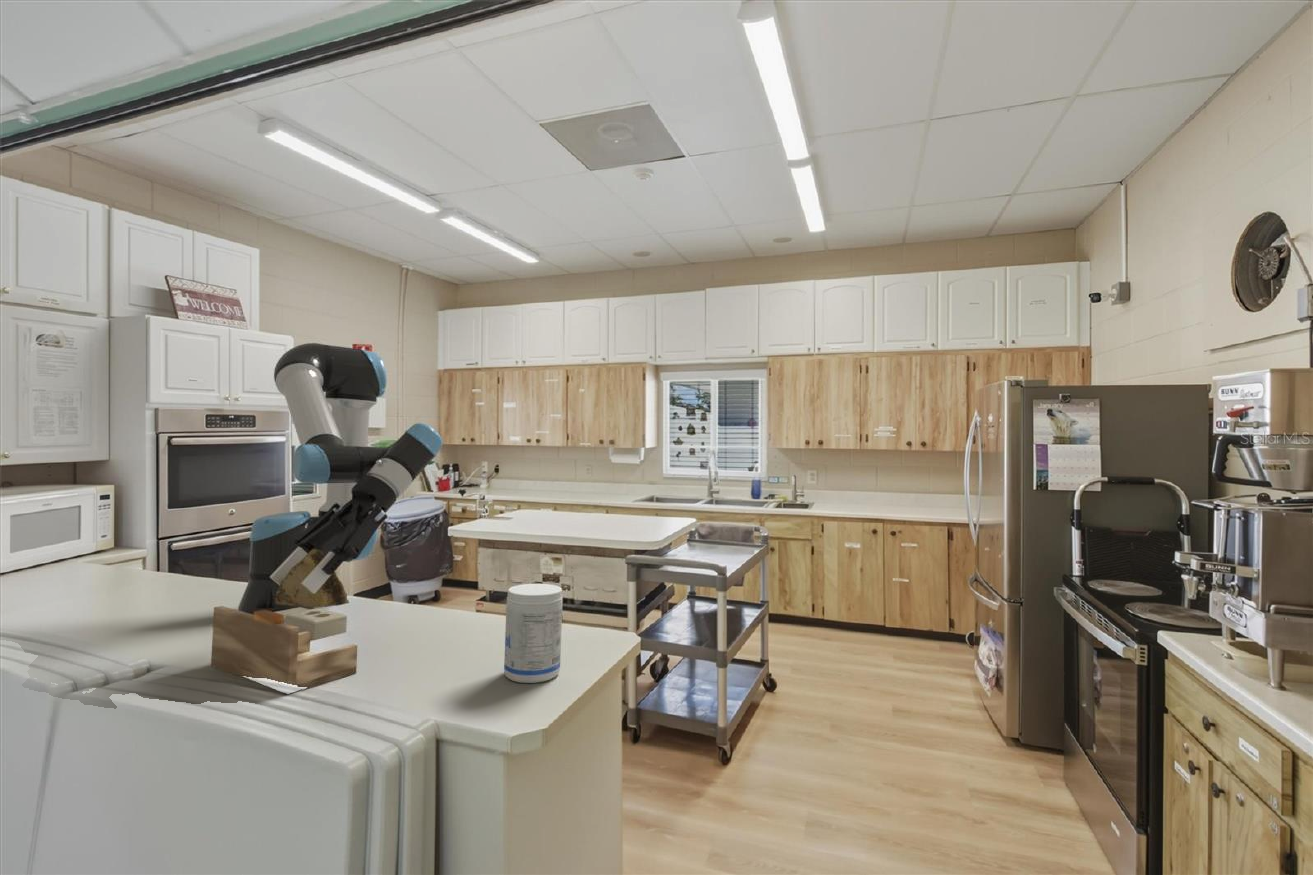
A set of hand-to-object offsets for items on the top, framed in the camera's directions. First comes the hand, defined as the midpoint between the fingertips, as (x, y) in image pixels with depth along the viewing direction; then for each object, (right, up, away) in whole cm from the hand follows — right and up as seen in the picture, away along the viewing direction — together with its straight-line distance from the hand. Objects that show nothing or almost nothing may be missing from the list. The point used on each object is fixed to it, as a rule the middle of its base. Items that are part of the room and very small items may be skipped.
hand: (291, 585), depth 98 cm
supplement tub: (+40, -16, +3) cm, 43 cm away
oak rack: (-4, -15, +3) cm, 16 cm away
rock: (+2, -4, +3) cm, 5 cm away
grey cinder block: (-14, -17, +27) cm, 35 cm away
